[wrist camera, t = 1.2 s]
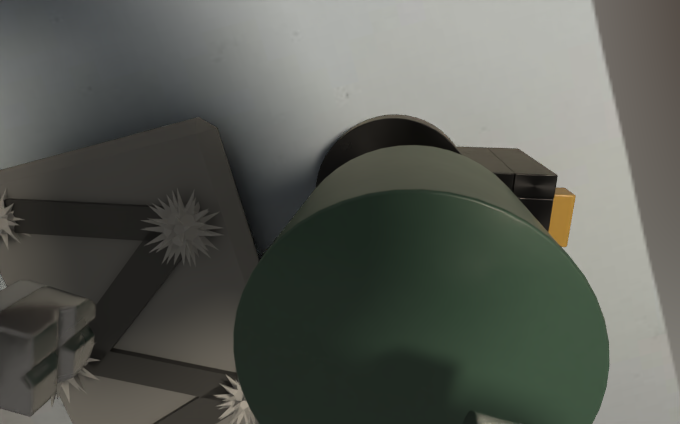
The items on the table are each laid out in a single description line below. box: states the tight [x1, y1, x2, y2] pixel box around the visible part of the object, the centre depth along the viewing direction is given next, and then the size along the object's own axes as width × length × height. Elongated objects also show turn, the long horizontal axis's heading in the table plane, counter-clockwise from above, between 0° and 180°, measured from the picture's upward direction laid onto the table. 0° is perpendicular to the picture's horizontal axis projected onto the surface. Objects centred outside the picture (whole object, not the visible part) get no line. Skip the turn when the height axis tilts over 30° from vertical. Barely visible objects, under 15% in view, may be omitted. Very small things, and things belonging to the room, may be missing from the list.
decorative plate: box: [0, 117, 260, 424], centre depth 34 cm, size 30×22×7 cm
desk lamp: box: [233, 114, 609, 424], centre depth 21 cm, size 13×10×20 cm
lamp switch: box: [548, 188, 575, 247], centre depth 25 cm, size 2×3×2 cm
